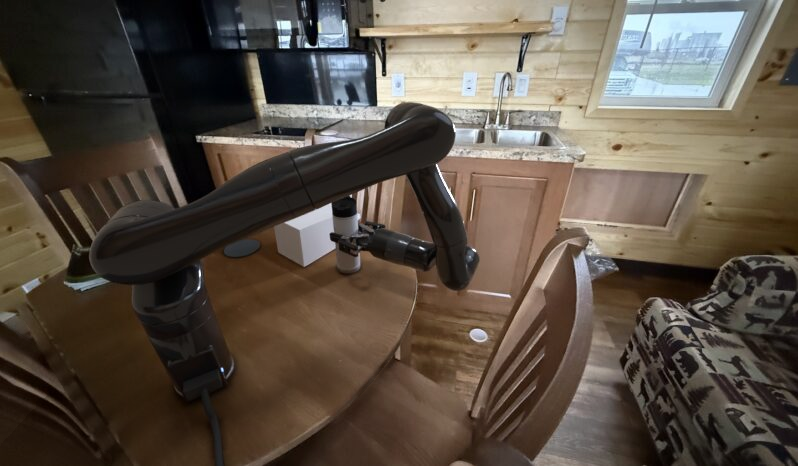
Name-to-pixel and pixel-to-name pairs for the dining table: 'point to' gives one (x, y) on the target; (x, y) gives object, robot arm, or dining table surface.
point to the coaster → (242, 248)
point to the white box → (306, 236)
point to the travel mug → (345, 231)
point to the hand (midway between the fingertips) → (339, 230)
